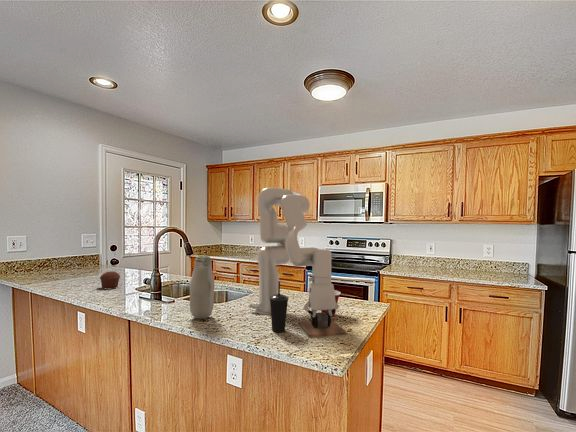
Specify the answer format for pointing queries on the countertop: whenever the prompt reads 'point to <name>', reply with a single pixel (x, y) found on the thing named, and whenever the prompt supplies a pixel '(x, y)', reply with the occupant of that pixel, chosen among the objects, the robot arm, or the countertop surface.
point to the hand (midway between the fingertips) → (321, 325)
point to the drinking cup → (278, 311)
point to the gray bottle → (202, 288)
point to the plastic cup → (335, 301)
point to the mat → (318, 337)
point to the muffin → (110, 279)
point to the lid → (321, 327)
